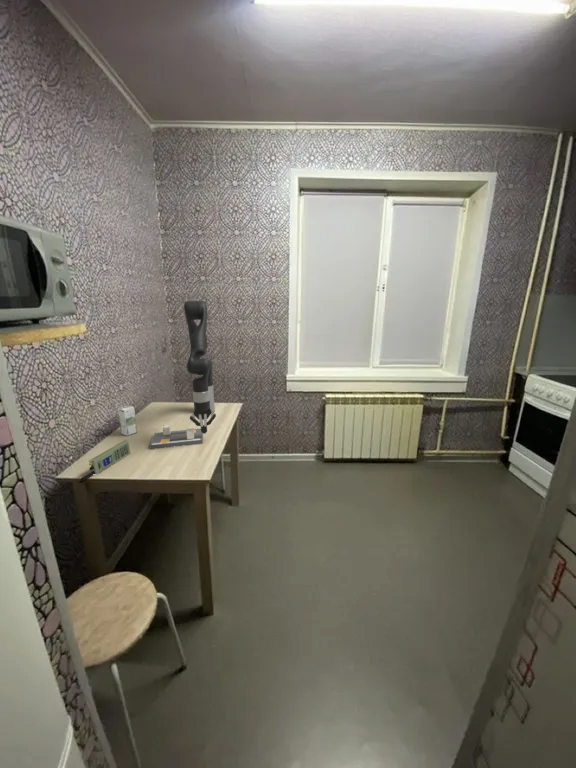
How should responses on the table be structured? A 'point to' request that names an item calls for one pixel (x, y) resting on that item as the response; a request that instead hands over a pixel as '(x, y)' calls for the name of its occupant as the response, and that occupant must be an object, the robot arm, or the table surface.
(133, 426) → the syrup box
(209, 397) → the robot arm
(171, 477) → the table surface
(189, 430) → the outer switch
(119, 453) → the handheld radio
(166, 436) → the switch panel
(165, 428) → the inner switch
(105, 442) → the table surface
